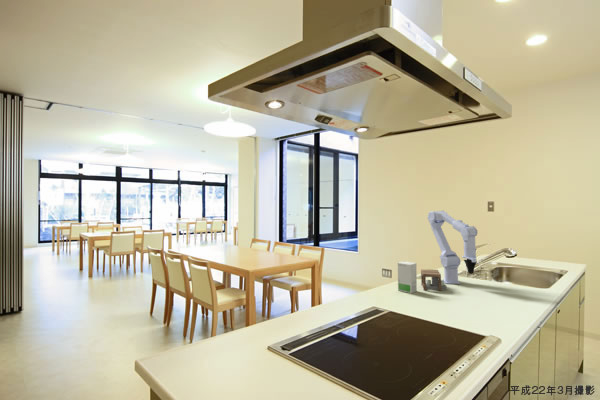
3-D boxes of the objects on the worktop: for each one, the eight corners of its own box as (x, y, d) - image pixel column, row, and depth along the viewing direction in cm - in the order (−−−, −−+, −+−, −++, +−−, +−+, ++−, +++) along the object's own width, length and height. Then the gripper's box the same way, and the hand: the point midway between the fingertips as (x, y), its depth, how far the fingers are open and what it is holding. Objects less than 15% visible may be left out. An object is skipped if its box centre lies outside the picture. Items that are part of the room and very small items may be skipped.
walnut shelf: (421, 284, 186) (420, 269, 186) (438, 285, 183) (437, 269, 184) (423, 290, 174) (423, 274, 174) (441, 291, 172) (440, 274, 172)
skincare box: (397, 290, 175) (396, 262, 176) (403, 288, 180) (402, 260, 180) (411, 293, 169) (410, 264, 169) (417, 290, 174) (416, 262, 174)
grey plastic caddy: (424, 287, 182) (423, 275, 182) (445, 287, 179) (444, 276, 179) (425, 289, 177) (424, 277, 177) (446, 290, 174) (446, 278, 174)
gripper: (458, 246, 183) (459, 270, 183) (465, 250, 169) (466, 275, 169) (471, 246, 182) (472, 270, 182) (480, 250, 168) (481, 276, 167)
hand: (470, 273), depth 175 cm, fingers closed
